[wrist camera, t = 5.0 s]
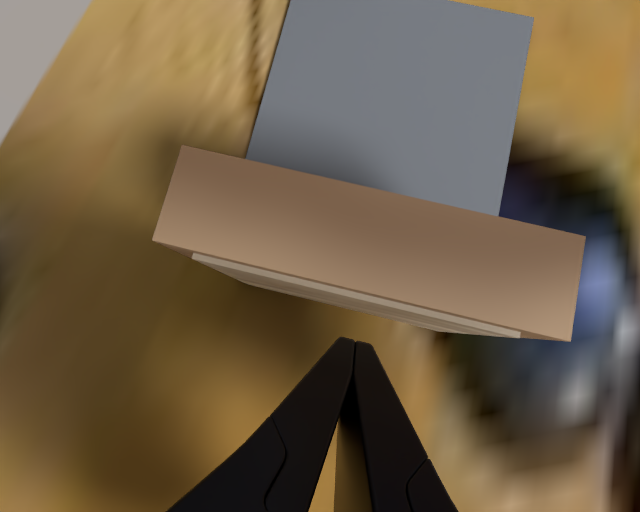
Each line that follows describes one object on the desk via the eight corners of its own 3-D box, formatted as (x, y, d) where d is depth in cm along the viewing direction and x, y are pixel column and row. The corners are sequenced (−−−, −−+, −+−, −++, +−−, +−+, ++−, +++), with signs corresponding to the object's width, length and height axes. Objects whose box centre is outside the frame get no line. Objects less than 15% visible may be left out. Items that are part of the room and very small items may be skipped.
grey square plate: (485, 271, 18) (488, 270, 18) (232, 212, 19) (230, 210, 19) (531, 22, 20) (534, 17, 20) (299, -25, 21) (299, -30, 21)
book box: (450, 335, 18) (569, 348, 9) (234, 282, 19) (150, 246, 10) (461, 277, 18) (585, 236, 10) (249, 227, 19) (181, 144, 10)
